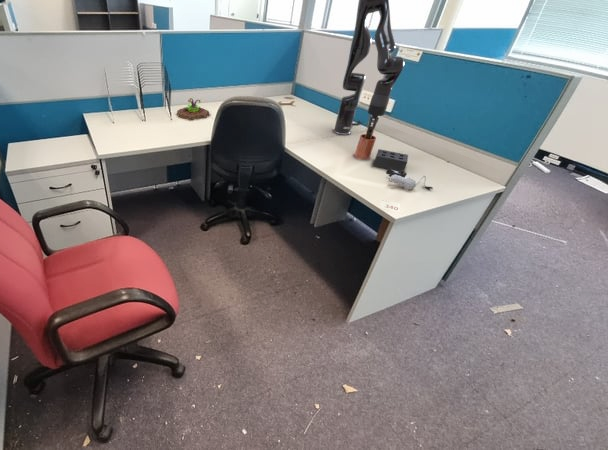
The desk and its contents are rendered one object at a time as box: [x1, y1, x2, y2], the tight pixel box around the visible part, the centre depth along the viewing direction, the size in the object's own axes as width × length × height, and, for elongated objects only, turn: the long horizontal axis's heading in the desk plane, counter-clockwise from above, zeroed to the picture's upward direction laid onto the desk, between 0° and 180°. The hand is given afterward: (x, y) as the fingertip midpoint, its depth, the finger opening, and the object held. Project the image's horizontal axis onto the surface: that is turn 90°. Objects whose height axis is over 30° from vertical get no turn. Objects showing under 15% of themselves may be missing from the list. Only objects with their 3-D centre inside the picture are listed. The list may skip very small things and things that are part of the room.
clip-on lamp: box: [385, 169, 434, 191], centre depth 145 cm, size 12×6×18 cm
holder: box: [372, 148, 409, 172], centre depth 160 cm, size 10×13×6 cm
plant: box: [176, 97, 210, 121], centre depth 219 cm, size 20×20×11 cm
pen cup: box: [354, 133, 377, 161], centre depth 167 cm, size 7×7×11 cm
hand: (367, 138), depth 165 cm, fingers closed on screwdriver, 3 cm apart
